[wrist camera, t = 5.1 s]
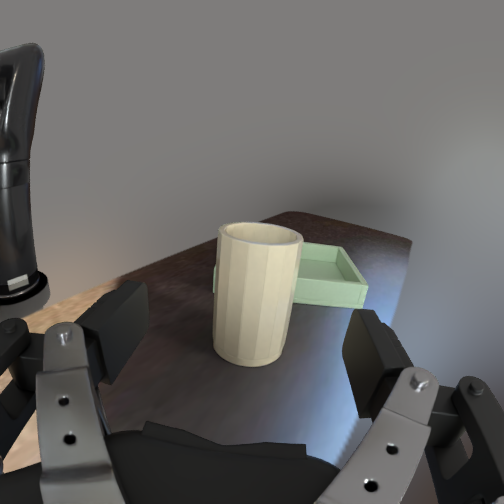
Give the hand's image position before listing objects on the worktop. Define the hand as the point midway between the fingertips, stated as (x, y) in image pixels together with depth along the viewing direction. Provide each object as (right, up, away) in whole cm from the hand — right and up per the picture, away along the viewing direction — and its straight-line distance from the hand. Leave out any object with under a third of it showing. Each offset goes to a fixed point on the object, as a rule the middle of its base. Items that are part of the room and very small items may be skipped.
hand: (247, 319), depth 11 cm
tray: (+5, -1, +29) cm, 29 cm away
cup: (0, -5, +14) cm, 15 cm away
